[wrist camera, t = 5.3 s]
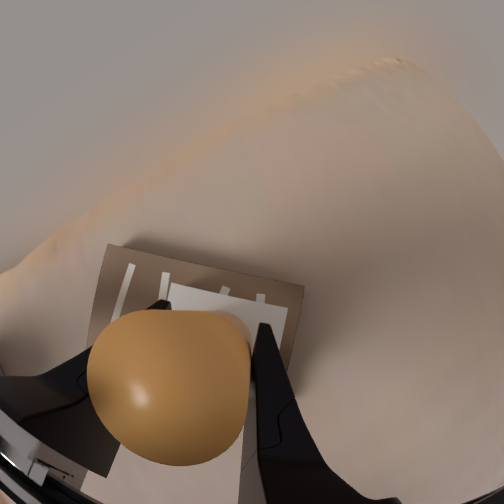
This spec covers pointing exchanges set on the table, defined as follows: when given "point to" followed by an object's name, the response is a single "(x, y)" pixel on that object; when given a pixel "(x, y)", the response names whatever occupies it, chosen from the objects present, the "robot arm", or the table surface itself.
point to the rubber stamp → (179, 374)
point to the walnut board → (183, 273)
